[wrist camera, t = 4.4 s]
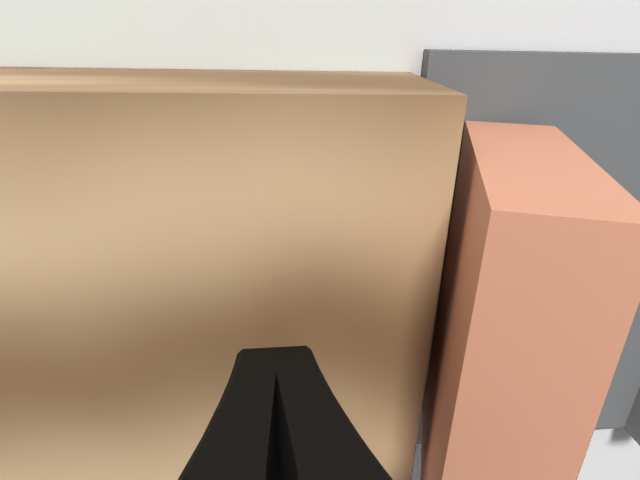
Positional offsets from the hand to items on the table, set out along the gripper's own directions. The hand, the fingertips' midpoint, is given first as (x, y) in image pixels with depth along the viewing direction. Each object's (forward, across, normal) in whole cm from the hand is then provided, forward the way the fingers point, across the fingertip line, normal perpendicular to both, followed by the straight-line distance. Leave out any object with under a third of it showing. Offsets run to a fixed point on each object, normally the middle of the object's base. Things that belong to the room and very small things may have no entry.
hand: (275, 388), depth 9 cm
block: (+1, -4, 0) cm, 4 cm away
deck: (+4, +4, 0) cm, 6 cm away
